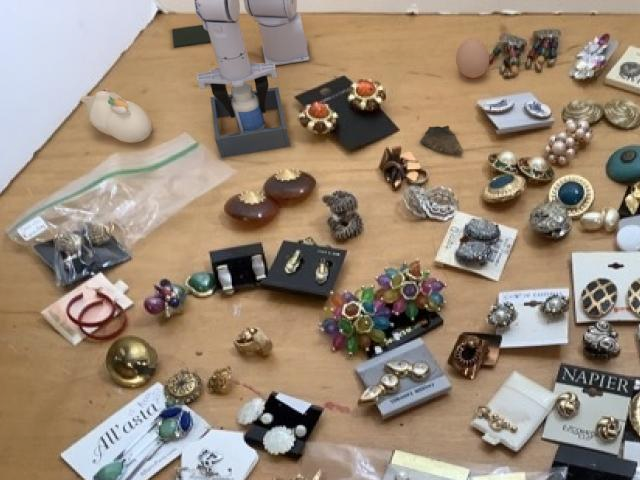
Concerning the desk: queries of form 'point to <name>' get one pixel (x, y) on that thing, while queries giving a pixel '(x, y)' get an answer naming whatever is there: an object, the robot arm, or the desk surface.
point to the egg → (472, 58)
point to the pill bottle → (247, 109)
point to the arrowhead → (442, 140)
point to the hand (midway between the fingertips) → (247, 112)
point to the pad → (190, 36)
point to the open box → (250, 139)
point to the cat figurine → (117, 116)
